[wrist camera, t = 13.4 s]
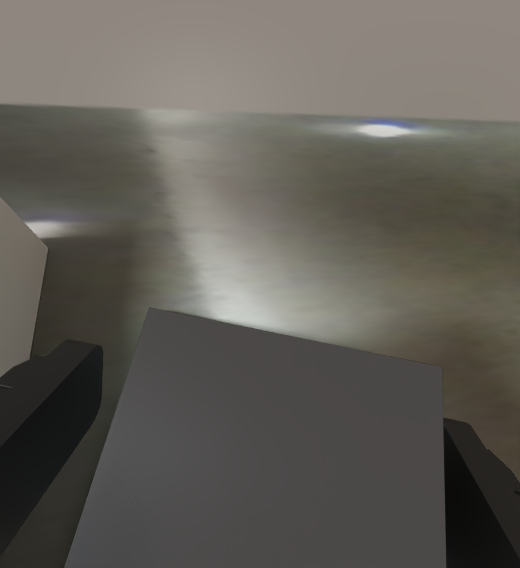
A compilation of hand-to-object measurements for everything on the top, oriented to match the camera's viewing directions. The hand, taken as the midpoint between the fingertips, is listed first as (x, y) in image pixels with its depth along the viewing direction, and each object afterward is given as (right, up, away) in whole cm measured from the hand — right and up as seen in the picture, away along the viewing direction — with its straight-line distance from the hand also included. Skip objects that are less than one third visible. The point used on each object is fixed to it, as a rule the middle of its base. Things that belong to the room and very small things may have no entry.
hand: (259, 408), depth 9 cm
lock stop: (-1, -4, +5) cm, 7 cm away
